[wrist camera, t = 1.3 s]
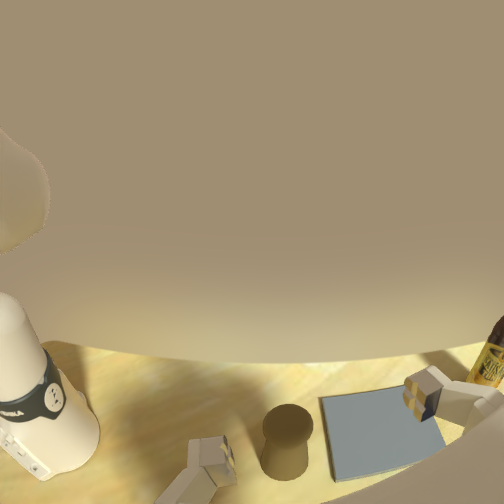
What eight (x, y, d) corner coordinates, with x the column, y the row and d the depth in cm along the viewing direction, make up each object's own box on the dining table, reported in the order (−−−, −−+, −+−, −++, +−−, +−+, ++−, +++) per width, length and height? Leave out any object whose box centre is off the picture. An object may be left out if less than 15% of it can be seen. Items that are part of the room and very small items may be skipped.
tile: (335, 482, 26) (336, 479, 25) (321, 401, 38) (322, 397, 38) (445, 453, 25) (448, 450, 25) (415, 386, 38) (417, 382, 37)
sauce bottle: (458, 401, 33) (509, 295, 25) (463, 376, 37) (504, 275, 29) (489, 409, 29) (546, 305, 21) (492, 384, 33) (538, 284, 25)
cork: (268, 439, 33) (267, 390, 29) (312, 447, 31) (323, 399, 27) (254, 475, 28) (249, 434, 24) (302, 484, 26) (312, 446, 22)
